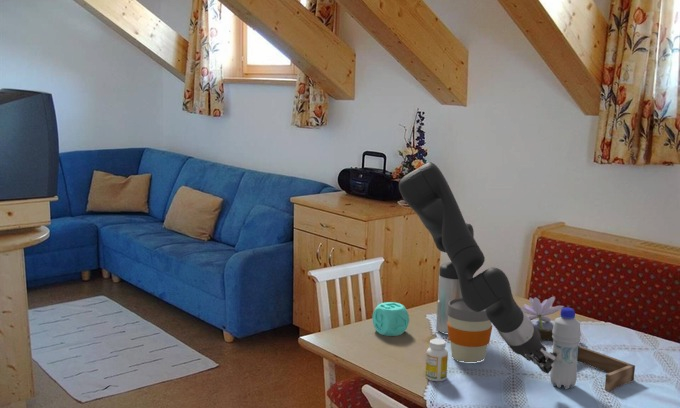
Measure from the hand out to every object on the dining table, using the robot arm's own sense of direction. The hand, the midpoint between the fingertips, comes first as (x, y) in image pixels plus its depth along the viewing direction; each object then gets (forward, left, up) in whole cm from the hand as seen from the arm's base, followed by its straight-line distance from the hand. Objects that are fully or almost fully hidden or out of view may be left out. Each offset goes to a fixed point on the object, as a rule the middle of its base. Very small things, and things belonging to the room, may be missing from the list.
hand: (547, 369), depth 169 cm
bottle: (+4, +5, -6) cm, 9 cm away
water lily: (0, +50, -6) cm, 50 cm away
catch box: (+12, +14, -6) cm, 19 cm away
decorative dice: (-44, +31, -6) cm, 54 cm away
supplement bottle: (-27, +1, -6) cm, 28 cm away
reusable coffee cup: (-20, +17, -6) cm, 27 cm away
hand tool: (+1, +36, -6) cm, 36 cm away
